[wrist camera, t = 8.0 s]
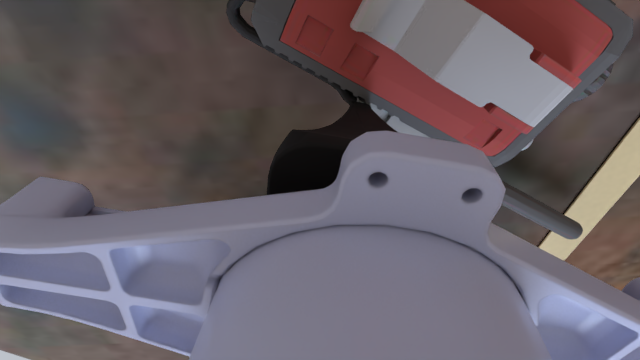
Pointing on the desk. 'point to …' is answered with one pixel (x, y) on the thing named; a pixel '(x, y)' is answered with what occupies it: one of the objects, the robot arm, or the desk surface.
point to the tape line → (600, 192)
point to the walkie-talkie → (453, 66)
